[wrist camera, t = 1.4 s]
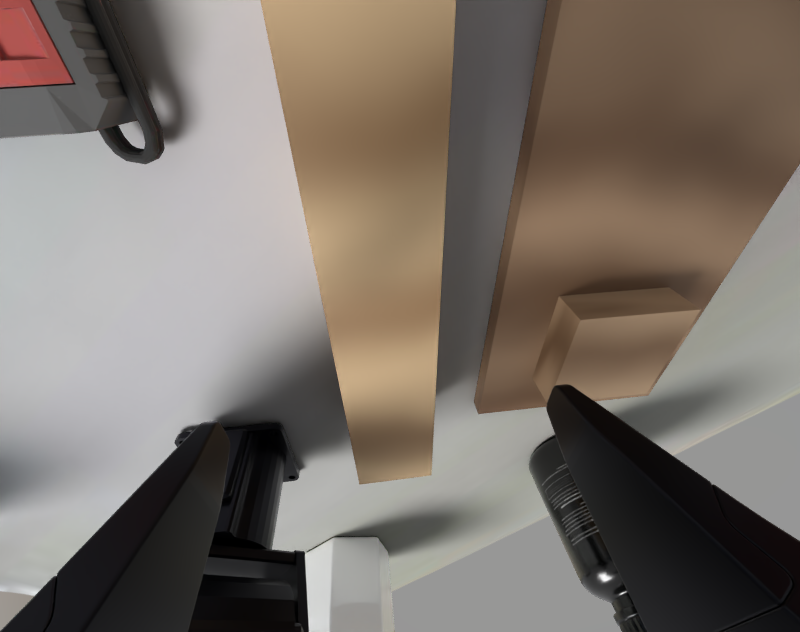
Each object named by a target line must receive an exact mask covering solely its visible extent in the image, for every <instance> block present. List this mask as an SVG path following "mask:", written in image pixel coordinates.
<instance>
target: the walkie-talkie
mask: <svg viewBox="0 0 800 632" xmlns="http://www.w3.org/2000/svg"><path fill="white" fill-rule="evenodd" d="M136 120H138V121H139V123H140V125H141V127H142V130H143V133H144V138H145V148H144V149H140V148H136V147H134V146H132V145H131V144H130V143H129V141H128V140H127V139H126V138H125V137H124V135H123V133H122V131H121V130H120V128H119V126H118V125H121V124H125V123H128V122H132V121H136ZM97 130H99V132H100V134H101V136H102V137H103V139H104V141H105V143H106V144H107V145H108V146H109V147H110V148H111V149H112V151H113V152H114V153H115V154H117V155H118V156H120V157H121V158H123V159H124V160H126V161H130V162H136V163H142V164H147V163H150V162H152V161H154V160H156V159H159V158H160V156H161V155H162V153H163V151H164V141H163V132H162V127H161V125H160V123H159V120H158V118H157V116H156V113H155V111H154V108H153V106H152V104H151V101H150V99H149V96H148V94H147V92H146V89H145V87H144V84H143V82H142V80H141V77H140V75H139V73H138V70H137V68H136V65H135V63H134V61H133V58H132V56H131V53H130V51H129V49H128V46H127V44H126V42H125V39H124V37H123V34H122V32H121V30H120V27H119V25H118V22H117V20H116V18H115V15H114V13H113V10H112V8H111V6H110V3H109V1H108V0H0V138H14V137H29V136H43V135H58V134H72V133H83V132H91V131H97Z"/></svg>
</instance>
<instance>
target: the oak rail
mask: <svg viewBox="0 0 800 632" xmlns="http://www.w3.org/2000/svg"><path fill="white" fill-rule="evenodd" d="M261 5H262V10H263V15H264V20H265V25H266V30H267V34H268V39H269V44H270V49H271V54H272V59H273V64H274V69H275V74H276V78H277V83H278V88H279V93H280V98H281V103H282V108H283V113H284V117H285V122H286V127H287V132H288V137H289V142H290V147H291V152H292V157H293V161H294V166H295V171H296V176H297V181H298V186H299V191H300V196H301V200H302V205H303V210H304V215H305V220H306V225H307V230H308V235H309V240H310V244H311V249H312V254H313V259H314V264H315V269H316V274H317V279H318V283H319V288H320V293H321V298H322V303H323V308H324V313H325V318H326V323H327V327H328V332H329V337H330V342H331V347H332V352H333V357H334V362H335V366H336V371H337V376H338V381H339V386H340V391H341V396H342V401H343V406H344V410H345V415H346V420H347V425H348V430H349V435H350V440H351V445H352V449H353V454H354V459H355V464H356V469H357V474H358V479H359V484H368V483H375V482H383V481H391V480H398V479H406V478H414V477H422V476H429V475H431V470H432V451H433V432H434V413H435V394H436V375H437V356H438V337H439V318H440V299H441V280H442V261H443V241H444V222H445V203H446V184H447V165H448V146H449V127H450V108H451V89H452V70H453V51H454V32H455V13H456V0H261Z"/></svg>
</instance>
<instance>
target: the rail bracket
mask: <svg viewBox="0 0 800 632" xmlns="http://www.w3.org/2000/svg"><path fill="white" fill-rule="evenodd" d="M799 164H800V0H547V5H546V11H545V16H544V22H543V27H542V33H541V38H540V44H539V49H538V55H537V60H536V66H535V71H534V76H533V82H532V87H531V93H530V98H529V104H528V109H527V115H526V120H525V126H524V131H523V137H522V142H521V148H520V153H519V158H518V164H517V169H516V175H515V180H514V186H513V191H512V197H511V202H510V208H509V213H508V219H507V224H506V230H505V235H504V240H503V246H502V251H501V257H500V262H499V268H498V273H497V279H496V284H495V290H494V295H493V301H492V306H491V312H490V317H489V323H488V328H487V333H486V339H485V344H484V350H483V355H482V361H481V366H480V372H479V377H478V383H477V388H476V394H475V399H474V403H475V406H476V409H477V411H478V414H483V413H492V412H501V411H510V410H519V409H528V408H537V407H546V406H547V401H548V399H549V396H550V394H551V391H552V388H553V387H554V386H555V385H562V384H569V385H572V386H573V387H575V388H576V389H578V390H579V391H580V392H582V393H583V394H585V395H586V396H588V397H589V398H590V399H592V400H593V401H601V400H610V399H620V398H629V397H638V396H647V395H649V393H650V392H651V390H652V389H653V387H654V386H655V384H656V383H657V381H658V379H659V378H660V376H661V375H662V373H663V372H664V370H665V369H666V367H667V366H668V364H669V363H670V361H671V360H672V358H673V357H674V355H675V353H676V352H677V350H678V349H679V347H680V346H681V344H682V343H683V341H684V340H685V338H686V337H687V335H688V334H689V332H690V331H691V329H692V327H693V326H694V324H695V323H696V321H697V320H698V318H699V317H700V315H701V314H702V312H703V311H704V309H705V308H706V306H707V305H708V303H709V301H710V300H711V298H712V297H713V295H714V294H715V292H716V291H717V289H718V288H719V286H720V285H721V283H722V282H723V280H724V279H725V277H726V275H727V274H728V272H729V271H730V269H731V268H732V266H733V265H734V263H735V262H736V260H737V259H738V257H739V256H740V254H741V253H742V251H743V249H744V248H745V246H746V245H747V243H748V242H749V240H750V239H751V237H752V236H753V234H754V233H755V231H756V230H757V228H758V227H759V225H760V223H761V222H762V220H763V219H764V217H765V216H766V214H767V213H768V211H769V210H770V208H771V207H772V205H773V204H774V202H775V201H776V199H777V197H778V196H779V194H780V193H781V191H782V190H783V188H784V187H785V185H786V184H787V182H788V181H789V179H790V178H791V176H792V175H793V173H794V171H795V170H796V168H797V167H798V165H799Z"/></svg>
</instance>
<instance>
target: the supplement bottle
mask: <svg viewBox="0 0 800 632" xmlns="http://www.w3.org/2000/svg"><path fill="white" fill-rule="evenodd" d="M529 469H530V472H531V475H532V477H533V479H534V481H535V484H536V486H537V488H538V490H539V493H540V495H541V497H542V499H543V501H544V503H545V506H546V508H547V510H548V512H549V514H550V516H551V519H552V521H553V523H554V525H555V527H556V530H557V532H558V534H559V536H560V538H561V541H562V543H563V545H564V547H565V549H566V551H567V554H568V556H569V558H570V560H571V562H572V564H573V566H574V569H575V571H576V573H577V575H578V577H579V579H580V581H581V583H582V585H583V586H584V587H585V588H586V589H587V590H588V591H589V592H590V593H591V594H593V595H594V596H596V597H598V598H600V599H603V600H605V601H607V602H610V603H611V604H612V605H613V607H614V610H615V611H616V613H615V614H614V619H615V621H616V623H617V625H618V626H620V628H621V631H622V632H647V630H646V628H645V626H644V624H643V622H642V620H641V618H640V616H639V614H638V611H637V609H636V607H635V605H634V603H633V601H632V599H631V597H630V595H629V593H628V591H627V589H626V587H625V585H624V583H623V580H622V578H621V576H620V574H619V572H618V570H617V568H616V566H615V564H614V562H613V560H612V558H611V556H610V554H609V552H608V549H607V547H606V545H605V543H604V541H603V539H602V537H601V535H600V533H599V531H598V529H597V527H596V525H595V523H594V521H593V518H592V516H591V514H590V512H589V510H588V508H587V506H586V504H585V502H584V500H583V498H582V496H581V494H580V492H579V490H578V487H577V485H576V483H575V481H574V479H573V477H572V475H571V473H570V471H569V469H568V466H567V464H566V462H565V459H564V457H563V454H562V451H561V449H560V446H559V443H558V440H557V438H556V437H554V438H552V439H550V440H549V441H547V442H545V443H544V444H542V445H541V446H540V447H539V448H538V449H537V450H536V451H535V452H534V453H533V454H532V456H531V458H530V462H529Z"/></svg>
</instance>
